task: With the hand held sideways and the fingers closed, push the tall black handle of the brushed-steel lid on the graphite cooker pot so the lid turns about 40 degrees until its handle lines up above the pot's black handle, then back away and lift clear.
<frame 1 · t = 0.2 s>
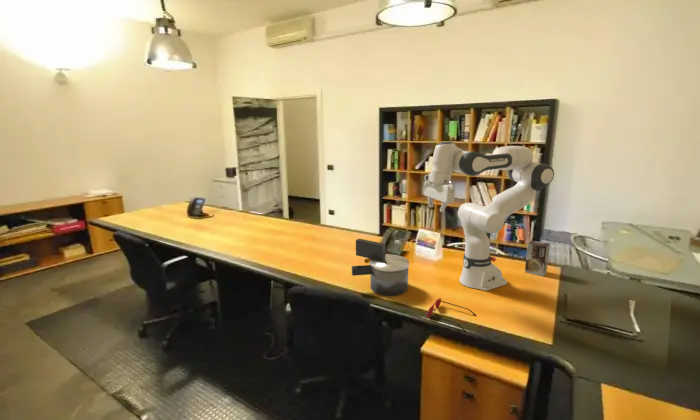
hand: (436, 209, 155), 39 cm above the table, tool pointing down, fingers open, 8 cm apart
coffee box: (535, 272, 181), on the table
pot: (389, 287, 167), on the table
glasses: (451, 318, 141), on the table
lid: (381, 253, 166), point 17 cm above the table, hinge at -40.0°
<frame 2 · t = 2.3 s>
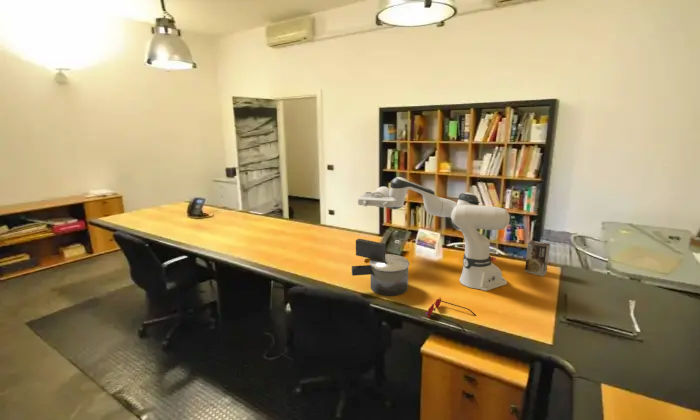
hand: (373, 205, 181), 35 cm above the table, tool horizontal, fingers open, 8 cm apart
nothing on the table moved.
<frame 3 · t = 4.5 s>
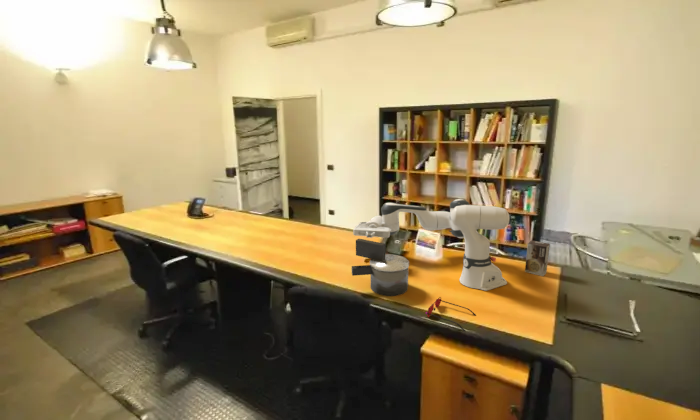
hand: (369, 236, 183), 19 cm above the table, tool horizontal, fingers closed
nothing on the table moved.
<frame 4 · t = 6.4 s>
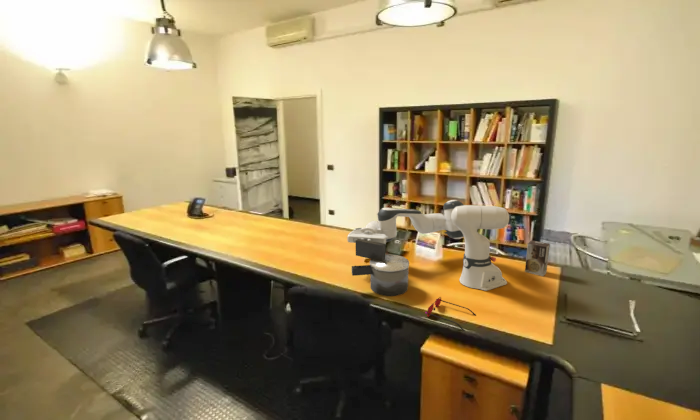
hand: (364, 243, 172), 19 cm above the table, tool horizontal, fingers closed
lid: (381, 253, 166), point 17 cm above the table, hinge at -39.3°, touching gripper
everything else where it was.
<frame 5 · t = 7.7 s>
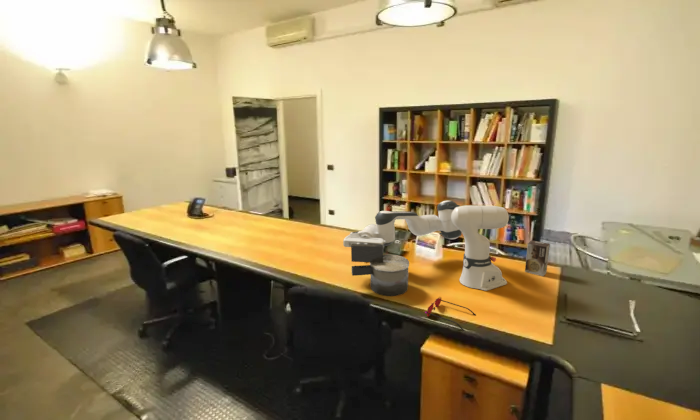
hand: (360, 248, 166), 19 cm above the table, tool horizontal, fingers closed
lid: (380, 254, 164), point 17 cm above the table, hinge at -13.1°, touching gripper
everything else where it was.
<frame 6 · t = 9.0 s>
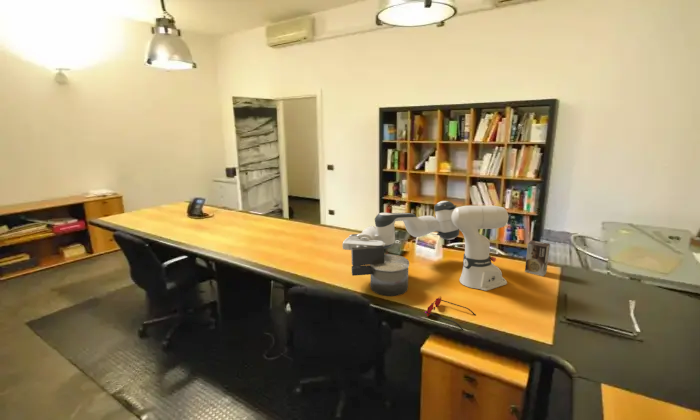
hand: (359, 251, 162), 19 cm above the table, tool horizontal, fingers closed
lid: (380, 255, 163), point 17 cm above the table, hinge at 4.1°, touching gripper
everything else where it was.
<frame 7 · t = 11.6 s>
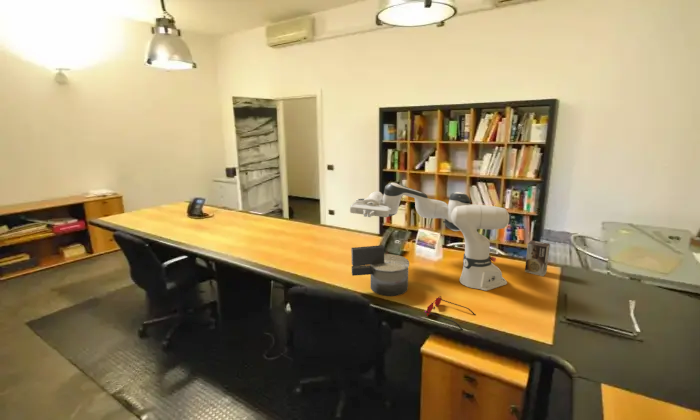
hand: (367, 215, 171), 33 cm above the table, tool horizontal, fingers closed
lid: (380, 255, 163), point 17 cm above the table, hinge at 4.2°
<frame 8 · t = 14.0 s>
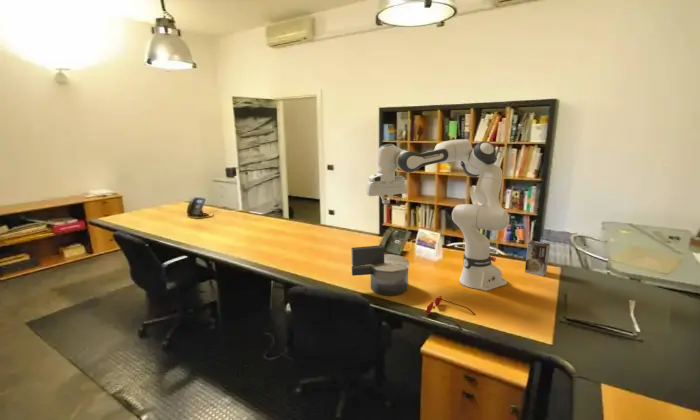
hand: (386, 203, 178), 37 cm above the table, tool pointing down, fingers closed
at the end: lid at +4° (first picture: -40°) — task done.
